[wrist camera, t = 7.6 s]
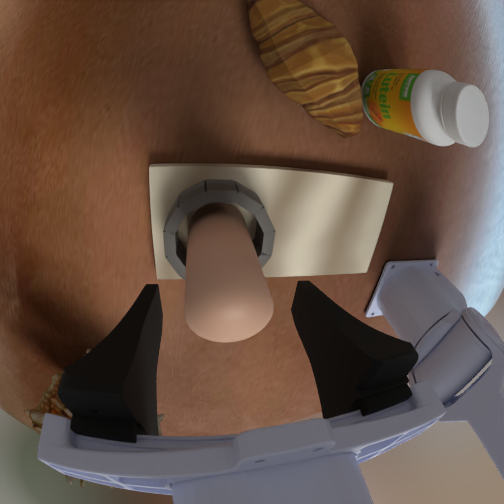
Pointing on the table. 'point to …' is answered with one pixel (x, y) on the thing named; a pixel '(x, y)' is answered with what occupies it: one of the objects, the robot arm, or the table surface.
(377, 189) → the holder board
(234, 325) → the peg
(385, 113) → the supplement bottle
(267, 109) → the table surface
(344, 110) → the croissant
